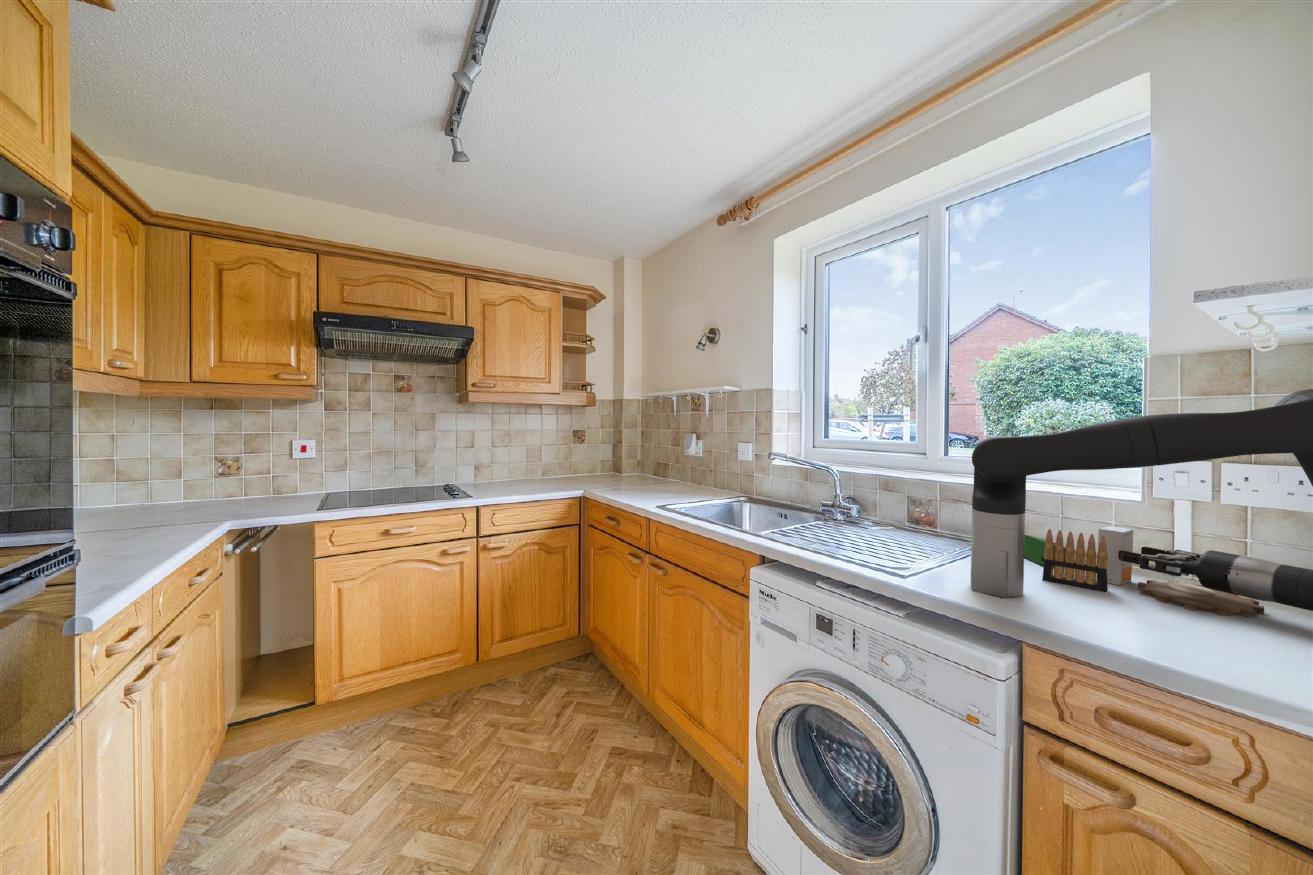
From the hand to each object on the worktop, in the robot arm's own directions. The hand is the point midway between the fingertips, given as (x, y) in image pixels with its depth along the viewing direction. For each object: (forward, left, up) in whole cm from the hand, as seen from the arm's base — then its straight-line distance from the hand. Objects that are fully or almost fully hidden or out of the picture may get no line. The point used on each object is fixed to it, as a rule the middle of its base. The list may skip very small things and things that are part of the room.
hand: (1130, 552), depth 103 cm
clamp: (+7, +16, -8) cm, 19 cm away
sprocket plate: (-1, -10, -7) cm, 12 cm away
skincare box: (+1, +3, -7) cm, 8 cm away
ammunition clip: (-10, +7, -7) cm, 15 cm away
